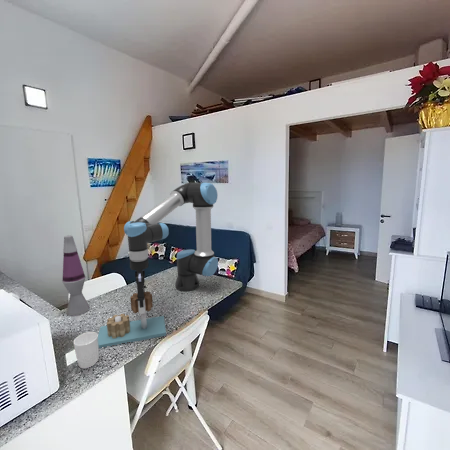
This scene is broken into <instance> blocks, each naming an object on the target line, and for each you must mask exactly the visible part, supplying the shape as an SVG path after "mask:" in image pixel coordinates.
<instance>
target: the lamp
mask: <svg viewBox="0 0 450 450" xmlns="http://www.w3.org/2000/svg"><path fill="white" fill-rule="evenodd" d="M62 250H63V251H62V252H63V261H62V280H61V281H62V283H63V285H64V287H65V289H66V290H67V292H68V294H69V299H68V304H67V306H66V307H67V308H66V310H65V311H66V316H69V317H74V316H75V317H76V316H80V315H84V314H85V313H88V312H89V310H90V309H91V308H90V304H89V303H88V301H87V300H86V298H85V296H84V294H83V289H84V285H85V281H86V274H85V271H84V268H83V266H82V263H81V259H80V255H79V253H78V249H77V245H76V243H75V239H74V236H73V235H72V234H71V235H69V234H68V235H65V236H64V237H63V249H62Z"/></svg>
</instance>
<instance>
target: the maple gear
mask: <svg viewBox="0 0 450 450" xmlns="http://www.w3.org/2000/svg"><path fill="white" fill-rule="evenodd" d="M116 316H121V321H119V322H115V317H116ZM106 326H107V331H108V336H109V337H110V336H112V338H117V337H119V336H120V337H123V336H125V334H126V333H129V332H130V315H128V314H125V313H121V314H114V315H112V317H108V318H107V320H106Z"/></svg>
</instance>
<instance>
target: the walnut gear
mask: <svg viewBox="0 0 450 450" xmlns="http://www.w3.org/2000/svg"><path fill="white" fill-rule="evenodd" d="M144 297H145V310H146V312H150V311H152V308H154V305H153V303H154V302H153V293H151V291H149V290H148V291H145V292H144ZM136 299H138V293H137V292H135V293H132V296H130V309H131V312H132V313H133V314H139V308H138V301H136Z"/></svg>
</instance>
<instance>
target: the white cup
mask: <svg viewBox="0 0 450 450" xmlns="http://www.w3.org/2000/svg"><path fill="white" fill-rule="evenodd" d="M98 334H99V333H98V332H94V331H87V332H84V333H81V334H80V335H78V336H77V337H75V338H74V340H73V347H74V352H75V355H76V356H75V357H76V360H77V364H78V367H79V368H80V369H84V370H85V369H89V367H90V368H91V366H92V367H93V365H94V364H95V363H96V362H97V361H98V362H99V360H98V359H100V355H99V351H100V349H99V345H98ZM98 362H97V363H98ZM97 363H96V364H97ZM96 364H95V365H96ZM95 365H94V366H95Z"/></svg>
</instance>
